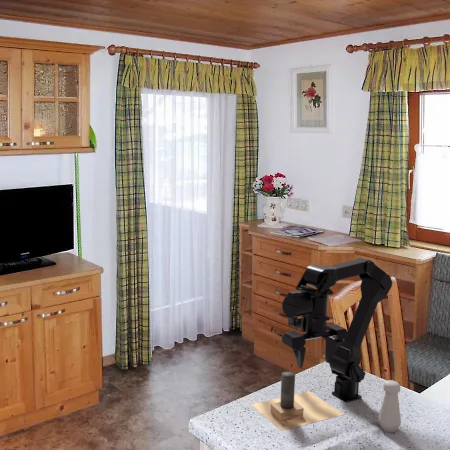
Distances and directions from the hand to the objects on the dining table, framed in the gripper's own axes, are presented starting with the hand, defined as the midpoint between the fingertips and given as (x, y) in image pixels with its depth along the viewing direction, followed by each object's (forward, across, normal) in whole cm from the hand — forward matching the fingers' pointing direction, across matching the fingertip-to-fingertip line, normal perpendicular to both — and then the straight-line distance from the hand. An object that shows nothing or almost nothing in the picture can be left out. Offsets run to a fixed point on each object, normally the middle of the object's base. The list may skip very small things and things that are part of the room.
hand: (313, 365), depth 163 cm
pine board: (+13, +6, +1) cm, 14 cm away
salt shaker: (+13, -12, +18) cm, 25 cm away
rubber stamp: (+12, +10, +2) cm, 15 cm away
